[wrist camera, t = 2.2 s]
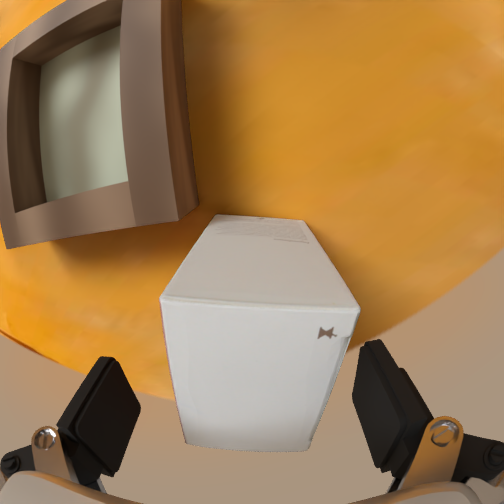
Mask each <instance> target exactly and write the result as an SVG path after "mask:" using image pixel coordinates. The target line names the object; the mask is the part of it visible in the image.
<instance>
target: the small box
mask: <svg viewBox="0 0 504 504" xmlns="http://www.w3.org/2000/svg"><path fill="white" fill-rule="evenodd" d="M159 302H160V310H161V318H162V326H163V334H164V340H165V346H166V353H167V359H168V365H169V370H170V375H171V380H172V386H173V391H174V395H175V400H176V405H177V409H178V413H179V418H180V422H181V426H182V431H183V435H184V438H185V443H186V444H190V445H195V446H201V447H208V448H216V449H226V450H237V451H255V452H256V451H257V452H298V451H306V450H308V449H309V447H310V444H311V441H312V439H313V436H314V433H315V431H316V429H317V426H318V424H319V421H320V419H321V416H322V414H323V411H324V409H325V407H326V404H327V402H328V399H329V396H330V394H331V391H332V389H333V386H334V383H335V381H336V378H337V375H338V372H339V370H340V367H341V364H342V361H343V358H344V356H345V353H346V350H347V347H348V344H349V342H350V339H351V337H352V335H353V332H354V329H355V326H356V323H357V320H358V318H359V315H360V311H361V309H360V306H359V304H358V303H357V301H356V300H355V298H354V296H353V295H352V293H351V292H350V290H349V288H348V287H347V285H346V283H345V282H344V280H343V279H342V277H341V276H340V274H339V273H338V271H337V270H336V268H335V266H334V265H333V263H332V262H331V260H330V259H329V257H328V255H327V254H326V252H325V251H324V249H323V248H322V246H321V245H320V243H319V242H318V240H317V239H316V237H315V236H314V235H313V233H312V232H311V230H310V229H309V227H308V226H307V225H306V223H305V222H304V221H303V220H292V219H280V218H266V217H253V216H236V215H219V214H216V215H215V216H214V217H213V219H212V220H211V221H210V223H209V224H208V226H207V227H206V228H205V230H204V231H203V233H202V234H201V236H200V237H199V239H198V240H197V242H196V243H195V245H194V246H193V247H192V249H191V250H190V252H189V253H188V255H187V256H186V258H185V259H184V261H183V262H182V264H181V265H180V267H179V268H178V270H177V272H176V273H175V275H174V276H173V278H172V279H171V281H170V282H169V284H168V285H167V287H166V288H165V290H164V291H163V293H162V294H161V296H160V298H159Z"/></svg>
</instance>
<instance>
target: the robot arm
mask: <svg viewBox="0 0 504 504" xmlns="http://www.w3.org/2000/svg"><path fill="white" fill-rule="evenodd" d="M352 399H353V403H354V406H355V409H356V412H357V415H358V417H359V420H360V423H361V426H362V429H363V432H364V435H365V438H366V440H367V443H368V446H369V450H370V453H371V456H372V459H373V462H374V465H375V467H376V468H380V469H381V472H382V473H384V472H387V471H391V473H392V476H393V477H394V479H393V481H392V483H391V485H390V486H389V488H388V490H387V492H386V494H384V495H380V496H376V497H372V498H369V499H365V500H361V501H357V502H353V503H348V504H504V443H503V442H500V441H496V440H491V439H486V438H480V437H477V436H472V435H468V434H464V433H463V428H462V425H461V424H460V423H459V421H457V420H456V419H455V418H452V417H448V416H442V417H437V418H435V419H434V418H433V416H432V414H431V412H430V411H429V409H428V407H427V405H426V404H425V402H424V400H423V399H422V397H421V395H420V394H419V392H418V390H417V389H416V387H415V385H414V384H413V382H412V380H411V379H410V377H409V375H408V374H407V372H406V371H405V370H404V369H403V368H399V367H398V366H397V364H396V363H395V361H394V359H393V358H392V356H391V355H390V353H389V351H388V350H387V348H386V347H385V345H384V343H383V342H382V341H381V340H380V339H378V340H373V341H368V342H365V344H364V346H362V347H361V348H360V353H359V359H358V365H357V371H356V377H355V382H354V387H353V392H352ZM140 410H141V407H140V403H139V402H138V400H137V398H136V396H135V394H134V392H133V390H132V388H131V386H130V384H129V382H128V380H127V378H126V376H125V374H124V372H123V370H122V368H121V366H120V364H119V362H118V361H116V360H115V358H113V357H103V356H101V357H100V358H99V359H98V360H97V362H96V363H95V364H94V366H93V367H92V369H91V370H90V372H89V373H88V375H87V376H86V378H85V380H84V381H83V383H82V384H81V386H80V388H79V389H78V390H77V392H76V393H75V395H74V397H73V398H72V400H71V401H70V403H69V405H68V406H67V408H66V409H65V411H64V413H63V415H62V416H61V418H60V419H59V421H58V423H57V427H58V430H56V429H55V428H53V427H50V426H45V427H41V428H40V429H38V430H37V431H36V432H35V433H34V434H33V437H32V441H31V444H32V445H29V446H26V447H24V448H20V449H17V450H14V451H12V452H9V453H7V454H5V455H4V456H3V458H2V460H1V464H0V465H1V466H0V504H142V503H138V502H134V501H130V500H126V499H123V498H119V497H116V496H112V495H109V494H107V493H106V490H105V488H104V486H103V484H102V481H101V479H100V475H101V473H102V474H104V475H107V476H110V477H114V474H115V472H117V471H118V470H119V468H120V465H121V462H122V459H123V457H124V454H125V451H126V448H127V446H128V443H129V440H130V438H131V435H132V432H133V429H134V427H135V424H136V422H137V419H138V417H139V414H140Z"/></svg>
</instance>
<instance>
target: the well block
mask: <svg viewBox="0 0 504 504" xmlns="http://www.w3.org/2000/svg"><path fill="white" fill-rule="evenodd" d="M198 205H199V199H198V192H197V185H196V177H195V169H194V161H193V153H192V144H191V135H190V125H189V115H188V105H187V94H186V82H185V68H184V53H183V35H182V10H181V0H66V1H65V2H63V3H61V4H60V5H58V6H57V7H55V8H53V9H52V10H50V11H49V12H47V13H46V14H44V15H43V16H42V17H40V18H39V19H37V20H36V21H34V22H33V23H32V24H30V25H29V26H28V27H26V28H25V29H24V30H23V31H21V32H20V33H19V34H18V35H16V36H15V37H14V38H13V39H11V40H10V41H9V42H8V43H7V44H6V45H5V46H3V47H2V48H1V49H0V223H1V228H2V232H3V237H4V241H5V245H6V249H11V248H16V247H21V246H26V245H31V244H36V243H41V242H46V241H52V240H57V239H63V238H68V237H74V236H80V235H86V234H92V233H98V232H104V231H110V230H117V229H123V228H130V227H137V226H144V225H151V224H158V223H166V222H173V221H179V220H180V219H182V218H183V217H184V216H186V215H187V214H188V213H189V212H191V211H192V210H193V209H195V208H196V207H197V206H198Z"/></svg>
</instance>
